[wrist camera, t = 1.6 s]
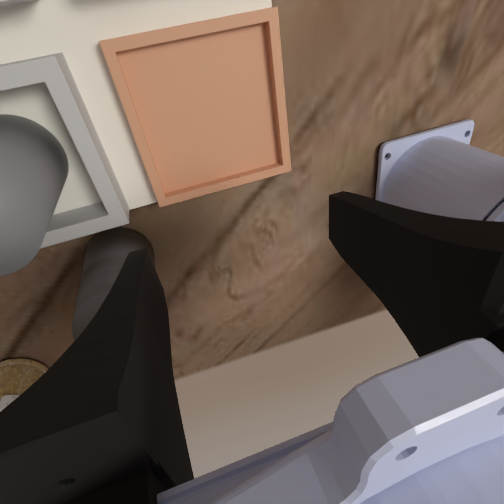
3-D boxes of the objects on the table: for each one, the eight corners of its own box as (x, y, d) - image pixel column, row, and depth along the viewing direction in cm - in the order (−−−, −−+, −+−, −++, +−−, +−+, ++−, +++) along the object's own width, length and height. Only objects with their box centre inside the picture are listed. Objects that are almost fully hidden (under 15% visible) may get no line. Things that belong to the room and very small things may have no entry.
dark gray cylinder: (161, 269, 25) (171, 339, 19) (101, 287, 24) (94, 365, 19) (140, 219, 22) (145, 284, 17) (73, 238, 21) (55, 313, 16)
